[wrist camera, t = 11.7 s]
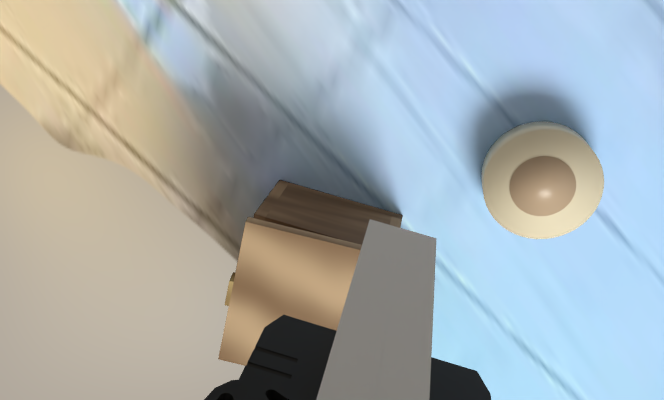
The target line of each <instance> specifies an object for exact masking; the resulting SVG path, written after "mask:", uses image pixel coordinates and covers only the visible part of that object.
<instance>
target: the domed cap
mask: <svg viewBox="0 0 664 400" xmlns="http://www.w3.org/2000/svg"><path fill="white" fill-rule="evenodd" d="M481 178H482V187H483V194H484V199H485V203H486V206H487V208H488V210H489V212H490V213H491V215H492V216H493V218H494V219H495V220H496V221H497V222H498V223H499V224H500V225H501V226H502V227H504V228H505V229H507V230H508V231H510V232H512V233H514V234H516V235H519V236H522V237H527V238H533V239H548V238H554V237H558V236H562V235H564V234H567V233H569V232H571V231H573V230H575V229H576V228H578V227H579V226H581V225H582V224H583V223H584V222H586V221H587V220H588V219H589V217H590V216H591V215H592V214H593V213H594V211H595V210H596V208H597V206H598V204H599V202H600V200H601V197H602V193H603V189H604V175H603V170H602V166H601V164H600V161H599V159H598V158H597V156H596V154H595V153H594V152H593V150H592V149H591V147H590V146H589V145H588V143H587V142H586V141H585V140H584V139H583V137H581V136H580V135H579V134H578V133H577V132H575V131H574V130H572V129H571V128H569V127H567V126H564V125H561V124H558V123H554V122H545V121H539V122H530V123H526V124H522V125H519V126H517V127H515V128H513V129H511V130H509V131H507V132H506V133H505V134H503V135H502V136H501V137H500V138H499V139H498V140H496V141H495V143H494V144H493V145H492V146H491V148H490V149H489V151H488V153H487V155H486V157H485V159H484V162H483V166H482V173H481Z"/></svg>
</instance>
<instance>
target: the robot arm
mask: <svg viewBox="0 0 664 400" xmlns="http://www.w3.org/2000/svg"><path fill="white" fill-rule="evenodd" d="M435 257H436V238H433V237H430V236H426V235H423V234H419V233H416V232H412V231H409V230H406V229H402V228H399V227H395V226H392V225H388V224H385V223H381V222H378V221H374V220H371V219H370V220H369V223H368V227H367V230H366V234H365V237H364V240H363V244H362V247H361V250H360V254H359V257H358V261H357V264H356V267H355V271H354V274H353V277H352V281H351V284H350V288H349V291H348V294H347V298H346V301H345V304H344V308H343V311H342V315H341V318H340V321H339V325H338V328H337V331H336V330H333V329H330V328H326V327H323V326H320V325H316V324H313V323H310V322H307V321H303V320H300V319H297V318H293V317H290V316H287V315H282V316H281V317H279V318H278V319H276V320H275V321H273V322H272V323H270V324H269V325H267V326H266V327H265V328H264V330H263V332H262V334H261V336H260V338H259V340H258V342H257V344H256V346H255V349H254V350H253V352H252V354H251V356H250V358H249V360H248V363H247V365H246V366H245V368H244V370H243V372H242V374H241V376H240V378H239V380H232V381H230V382H227V383H225V384H223V385H221V386H218V387H216V388H215V389H214V390H213V391H212V392H211V393H210V394H209V395H208V396H207V397H206V398H205V400H491V395H490V392H489V391H488V389H487V387H486V386H485V384H484V382H483V381H482V379H481V377H480V376H479V374H478V372H477V371H475V370H471V369H468V368H465V367H461V366H458V365H455V364H452V363H448V362H445V361H442V360H438V359H435V358H432V357H431V351H432V327H433V304H434V280H435Z"/></svg>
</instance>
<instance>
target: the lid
mask: <svg viewBox="0 0 664 400" xmlns="http://www.w3.org/2000/svg"><path fill="white" fill-rule="evenodd" d="M361 247H362V245H360V244H356V243H352V242H348V241H344V240H340V239H336V238H332V237H328V236H324V235H320V234H316V233H312V232H308V231H304V230H300V229H296V228H291V227H287V226H283V225H279V224H275V223H271V222H267V221H263V220H259V219H255V218H251V217H248V218H247V220H246V222H245V227H244V232H243V237H242V242H241V247H240V252H239V257H238V262H237V268H236V273H233V274H232V276H231V279H230V281H229V286H228V291H227V296H226V301H225V305H227V306H229V308H228V313H227V318H226V323H225V328H224V334H223V339H222V344H221V349H220V353H219V358H218V359H220V360H224V361H228V362H233V363H237V364H241V365H245V366H246V365H247V363H248V360H249V358H250V356H251V354H252V352H253V350H254V349H255V346H256V344H257V342H258V340H259V338H260V336H261V334H262V332H263V330H264V328H265V327H266V326H267V325H269V324H270V323H272V322H273V321H275V320H276V319H278V318H279V317H281V316H282V315H287V316H290V317H293V318H297V319H300V320H303V321H307V322H310V323H313V324H316V325H320V326H323V327H326V328H330V329H333V330H336V331H337V328H338V325H339V321H340V318H341V315H342V311H343V308H344V304H345V301H346V298H347V294H348V291H349V288H350V284H351V281H352V277H353V274H354V271H355V267H356V264H357V261H358V257H359V254H360V250H361Z"/></svg>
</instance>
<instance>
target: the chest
mask: <svg viewBox="0 0 664 400" xmlns="http://www.w3.org/2000/svg"><path fill="white" fill-rule="evenodd" d="M254 218H255V219H259V220H263V221H267V222H271V223H275V224H279V225H283V226H287V227H291V228H296V229H300V230H304V231H308V232H312V233H316V234H320V235H324V236H328V237H332V238H336V239H340V240H344V241H348V242H352V243H356V244H360V245H362V244H363V240H364V237H365V234H366V230H367V227H368V223H369V220H370V219H371V220H374V221H378V222H381V223H385V224H388V225H392V226H395V227H399V228H400V227H401V221H402V215H400V214H397V213H393V212H390V211H386V210H383V209H379V208H376V207H372V206H369V205H365V204H362V203H359V202H355V201H352V200H348V199H345V198H341V197H338V196H334V195H331V194H327V193H324V192H320V191H317V190H313V189H310V188H307V187H303V186H300V185H296V184H293V183H289V182H286V181H282V180H279V181H278V183H277V184H276V185H275V187H274V188H273V189H272V191H271V192H270V193H269V195H268V196H267V197H266V199H265V200H264V202H263V203H262V204H261V206H260V207H259V208H258V210H257V211H256V212H255V214H254Z"/></svg>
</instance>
